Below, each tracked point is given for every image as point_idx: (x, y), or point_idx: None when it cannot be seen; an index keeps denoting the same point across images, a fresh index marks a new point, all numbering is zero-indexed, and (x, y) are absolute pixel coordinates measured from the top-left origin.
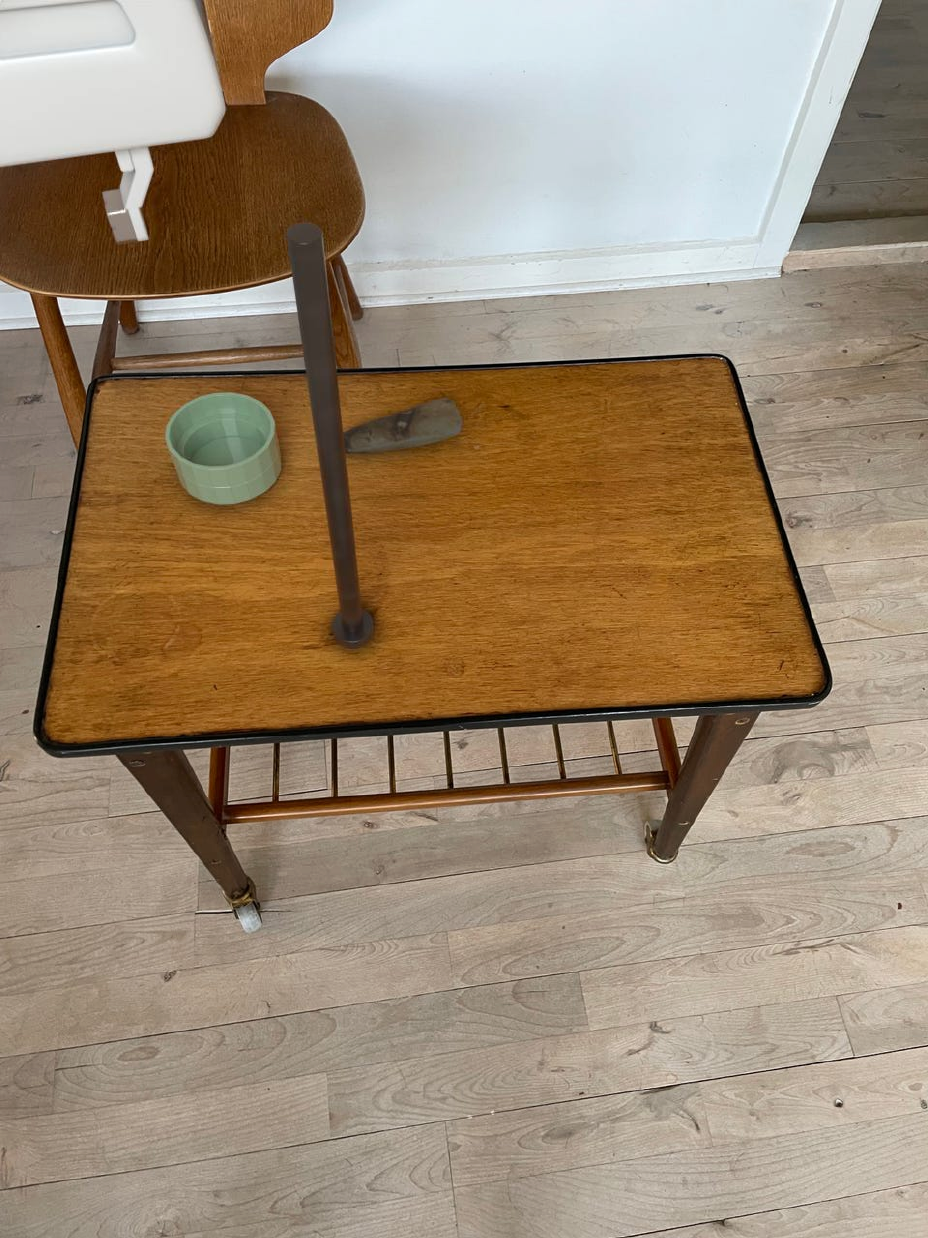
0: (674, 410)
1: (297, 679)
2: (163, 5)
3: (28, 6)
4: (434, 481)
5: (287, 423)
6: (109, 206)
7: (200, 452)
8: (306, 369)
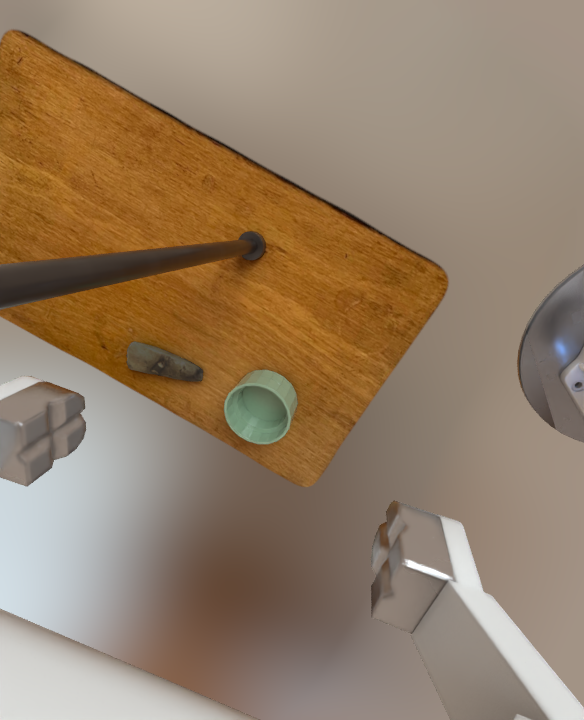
0: None
1: (299, 232)
2: None
3: None
4: (163, 321)
5: None
6: (13, 439)
7: (277, 417)
8: (91, 274)
